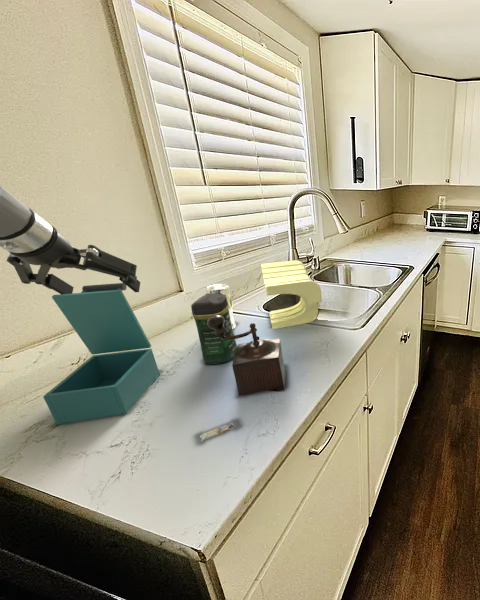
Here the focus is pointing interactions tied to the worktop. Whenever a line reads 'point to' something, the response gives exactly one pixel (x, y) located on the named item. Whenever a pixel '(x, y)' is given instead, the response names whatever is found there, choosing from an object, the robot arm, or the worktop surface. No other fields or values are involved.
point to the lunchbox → (103, 386)
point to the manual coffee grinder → (254, 360)
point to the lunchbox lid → (103, 318)
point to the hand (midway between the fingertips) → (105, 289)
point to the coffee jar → (211, 343)
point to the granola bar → (216, 431)
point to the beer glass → (226, 291)
